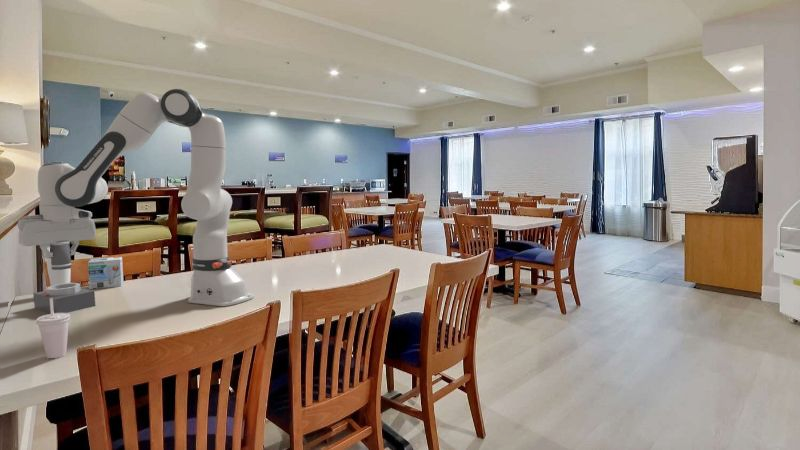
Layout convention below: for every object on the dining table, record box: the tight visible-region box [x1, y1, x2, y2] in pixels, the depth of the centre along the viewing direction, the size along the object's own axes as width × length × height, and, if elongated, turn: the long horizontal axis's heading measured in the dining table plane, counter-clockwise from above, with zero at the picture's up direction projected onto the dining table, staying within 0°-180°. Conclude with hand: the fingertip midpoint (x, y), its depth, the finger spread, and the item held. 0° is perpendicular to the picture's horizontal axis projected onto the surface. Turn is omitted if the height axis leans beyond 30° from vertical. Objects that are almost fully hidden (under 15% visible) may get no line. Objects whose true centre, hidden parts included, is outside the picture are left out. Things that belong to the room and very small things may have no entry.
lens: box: [49, 241, 72, 270], centre depth 140 cm, size 5×5×9 cm
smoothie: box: [35, 298, 71, 359], centre depth 103 cm, size 6×6×14 cm
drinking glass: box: [45, 258, 72, 286], centre depth 156 cm, size 7×7×15 cm
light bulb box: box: [87, 256, 125, 290], centre depth 169 cm, size 11×7×11 cm, turn 117°
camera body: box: [32, 282, 96, 314], centre depth 142 cm, size 14×11×7 cm
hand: (60, 256), depth 140 cm, fingers closed on lens, 5 cm apart
